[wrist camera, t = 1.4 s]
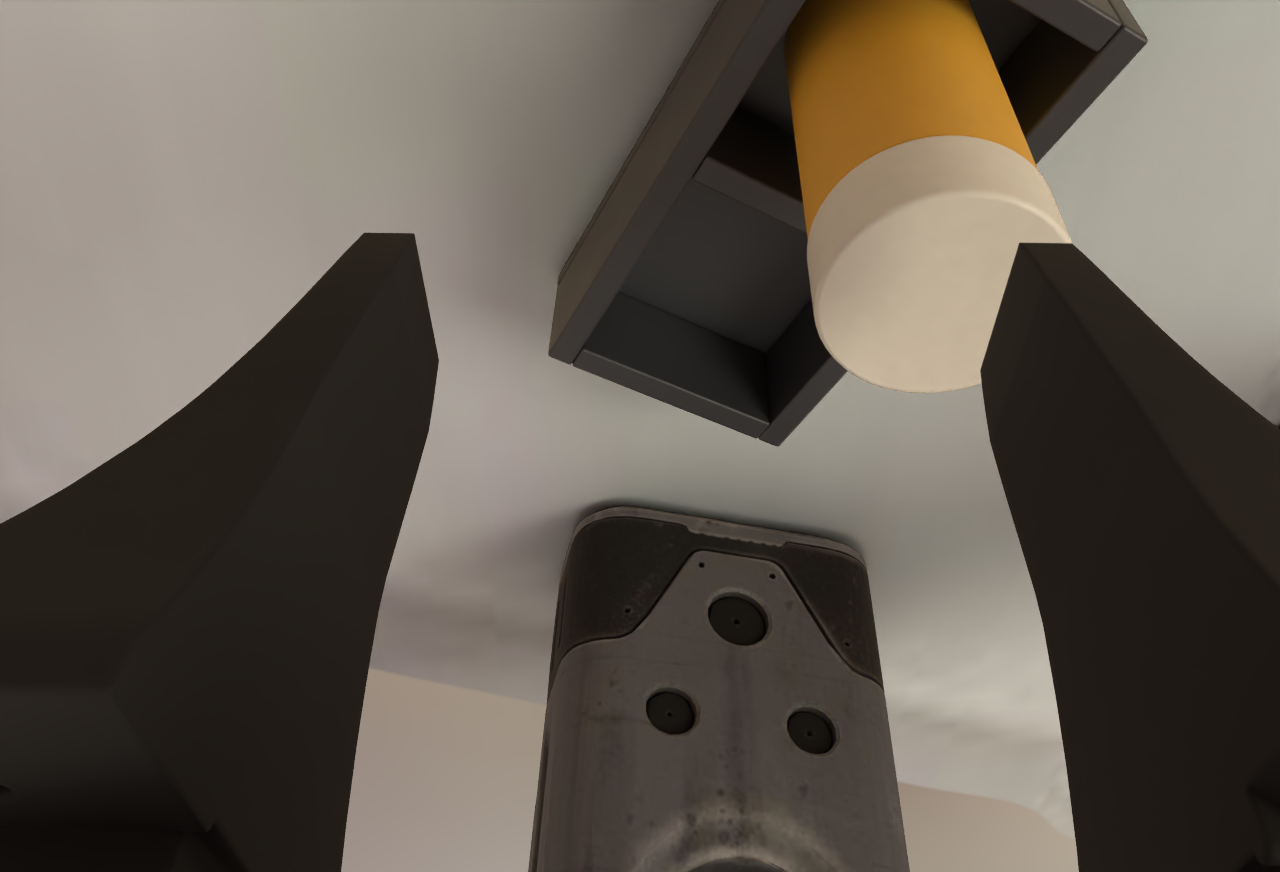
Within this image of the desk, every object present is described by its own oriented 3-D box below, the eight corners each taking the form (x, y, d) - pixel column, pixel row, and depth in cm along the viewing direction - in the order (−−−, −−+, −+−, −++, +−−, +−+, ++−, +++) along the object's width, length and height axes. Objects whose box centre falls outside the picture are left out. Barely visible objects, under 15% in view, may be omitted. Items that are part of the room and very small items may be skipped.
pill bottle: (1016, 4, 20) (1138, 261, 15) (895, 156, 23) (961, 426, 17) (854, -92, 19) (921, 148, 13) (746, 78, 21) (765, 340, 16)
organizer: (1104, -31, 20) (1150, 41, 18) (772, 366, 28) (778, 448, 26) (836, -201, 18) (853, -142, 16) (558, 276, 26) (546, 356, 24)
